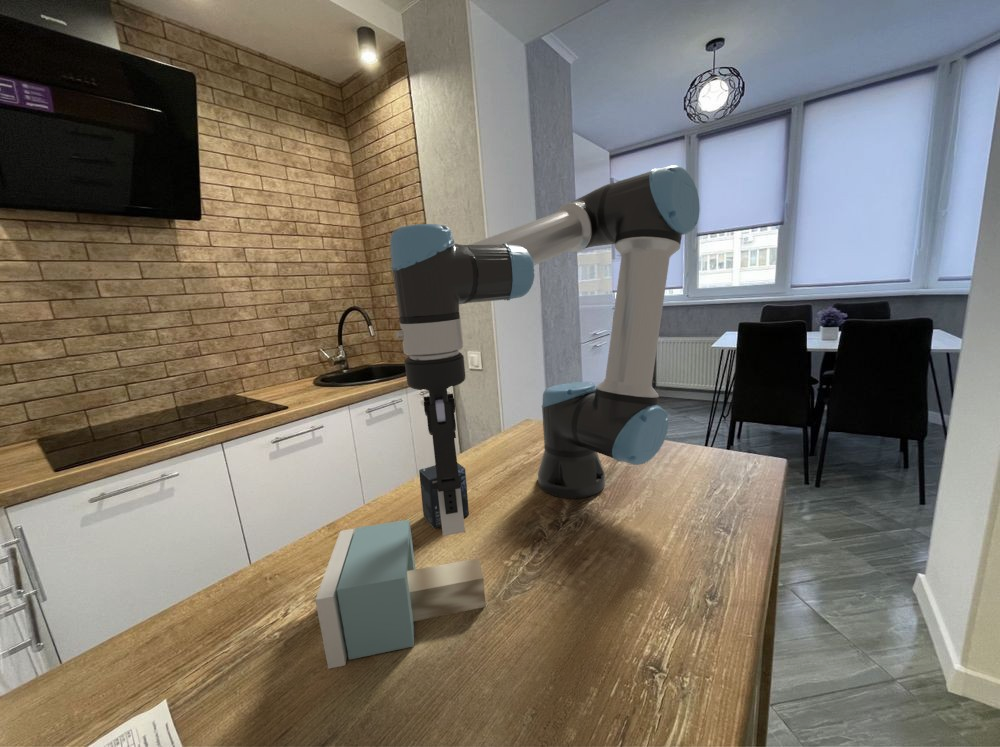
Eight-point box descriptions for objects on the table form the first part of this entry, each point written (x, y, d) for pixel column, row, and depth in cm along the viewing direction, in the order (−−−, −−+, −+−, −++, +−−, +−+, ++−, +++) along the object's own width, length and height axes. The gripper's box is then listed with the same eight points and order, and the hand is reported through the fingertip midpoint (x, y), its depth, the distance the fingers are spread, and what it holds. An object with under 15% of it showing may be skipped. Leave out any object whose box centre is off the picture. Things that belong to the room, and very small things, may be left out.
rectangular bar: (481, 586, 61) (479, 558, 60) (485, 608, 56) (483, 578, 55) (374, 607, 58) (370, 577, 57) (371, 631, 54) (366, 600, 53)
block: (416, 576, 63) (409, 519, 61) (413, 646, 50) (404, 577, 48) (364, 585, 62) (355, 527, 60) (349, 659, 49) (336, 590, 47)
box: (434, 530, 75) (429, 479, 73) (423, 517, 80) (417, 469, 78) (470, 515, 80) (465, 467, 77) (457, 503, 84) (453, 458, 82)
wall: (362, 584, 62) (354, 528, 60) (345, 665, 49) (333, 596, 47) (349, 587, 62) (340, 530, 60) (328, 669, 48) (315, 599, 46)
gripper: (408, 344, 61) (424, 468, 66) (396, 377, 37) (422, 569, 42) (456, 339, 63) (468, 462, 67) (474, 369, 39) (491, 556, 43)
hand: (450, 503), depth 55 cm, fingers open, 13 cm apart
